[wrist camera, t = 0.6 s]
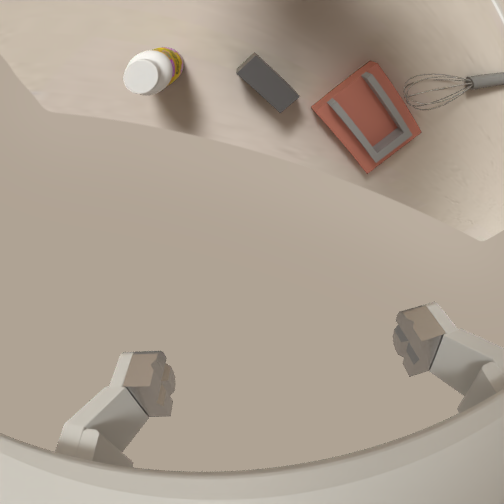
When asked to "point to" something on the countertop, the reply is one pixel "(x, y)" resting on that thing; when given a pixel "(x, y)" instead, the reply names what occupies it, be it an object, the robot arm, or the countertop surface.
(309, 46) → the countertop surface
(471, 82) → the kitchen whisk
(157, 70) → the supplement bottle
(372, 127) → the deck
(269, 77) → the dark gray eraser
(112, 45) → the countertop surface
